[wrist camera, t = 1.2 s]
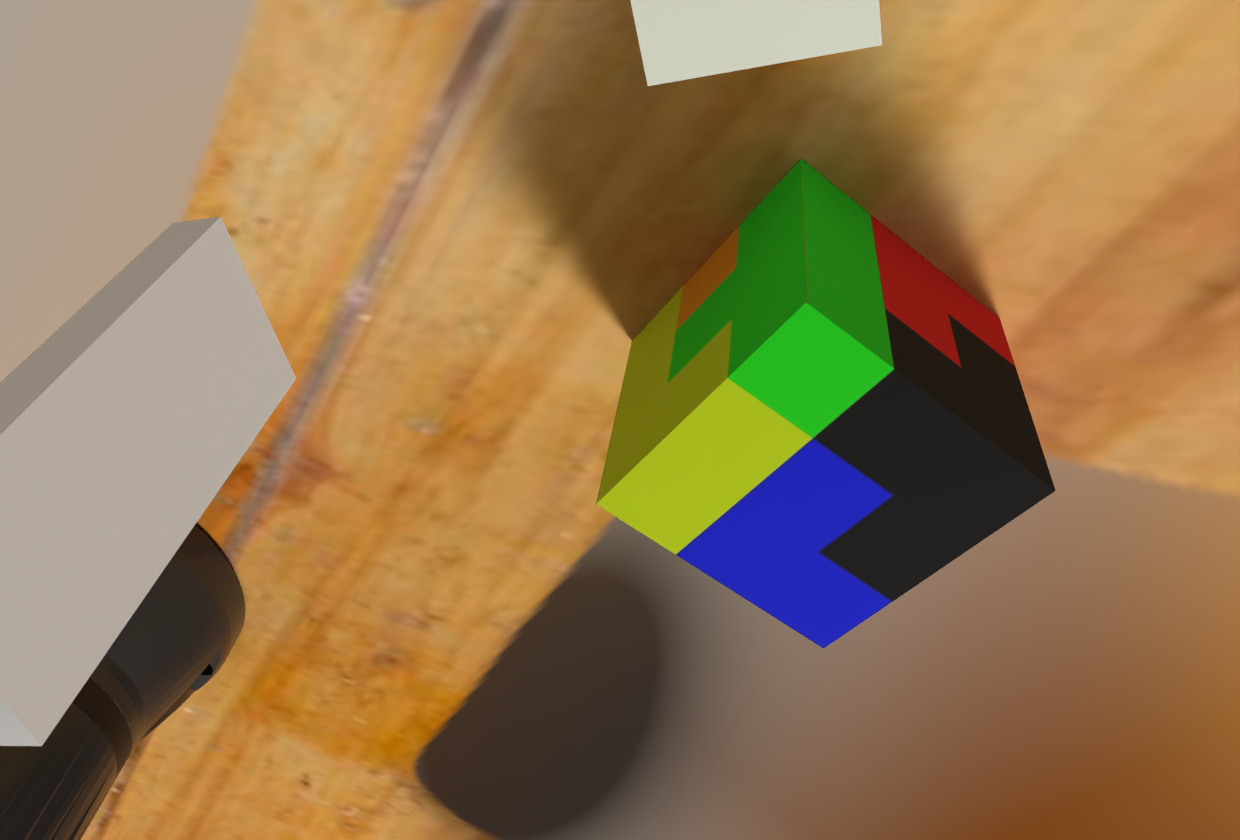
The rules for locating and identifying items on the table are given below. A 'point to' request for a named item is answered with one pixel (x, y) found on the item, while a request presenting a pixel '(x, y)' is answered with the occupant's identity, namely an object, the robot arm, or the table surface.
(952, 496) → the puzzle toy
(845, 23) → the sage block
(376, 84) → the table surface
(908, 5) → the table surface
